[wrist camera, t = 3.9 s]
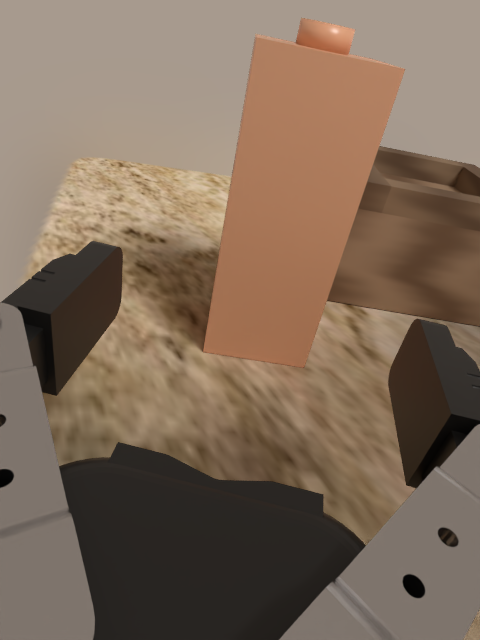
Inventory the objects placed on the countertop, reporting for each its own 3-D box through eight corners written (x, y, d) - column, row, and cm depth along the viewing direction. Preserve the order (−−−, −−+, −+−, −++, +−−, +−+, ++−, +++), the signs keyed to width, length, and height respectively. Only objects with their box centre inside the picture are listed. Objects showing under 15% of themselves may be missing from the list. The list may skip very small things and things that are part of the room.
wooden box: (433, 254, 38) (474, 165, 34) (490, 327, 29) (556, 218, 24) (307, 231, 37) (333, 137, 33) (324, 299, 28) (364, 181, 24)
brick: (296, 312, 26) (378, 36, 18) (304, 367, 22) (414, 41, 14) (211, 298, 26) (259, 10, 18) (203, 351, 21) (261, 7, 14)
